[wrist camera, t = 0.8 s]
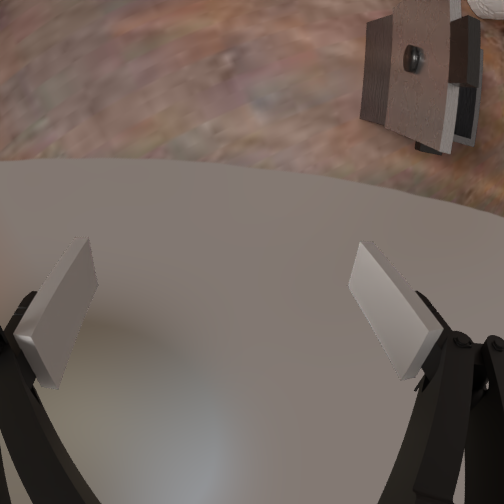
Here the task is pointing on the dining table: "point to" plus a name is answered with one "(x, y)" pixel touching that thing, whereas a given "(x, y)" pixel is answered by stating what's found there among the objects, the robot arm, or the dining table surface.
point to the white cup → (488, 8)
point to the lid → (430, 69)
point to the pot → (379, 82)
